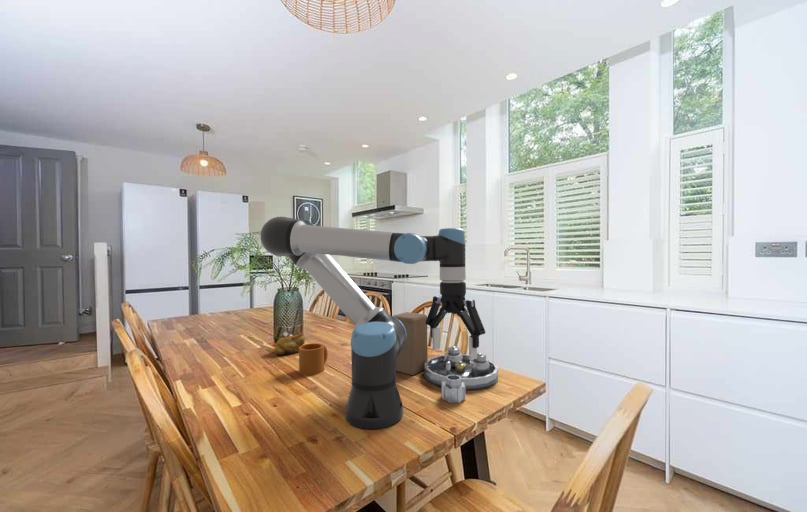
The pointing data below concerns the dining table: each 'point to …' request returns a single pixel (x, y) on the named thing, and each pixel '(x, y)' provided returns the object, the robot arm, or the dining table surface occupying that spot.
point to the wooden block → (413, 343)
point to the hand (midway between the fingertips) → (453, 353)
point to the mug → (312, 358)
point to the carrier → (462, 369)
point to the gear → (453, 389)
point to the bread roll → (289, 344)
